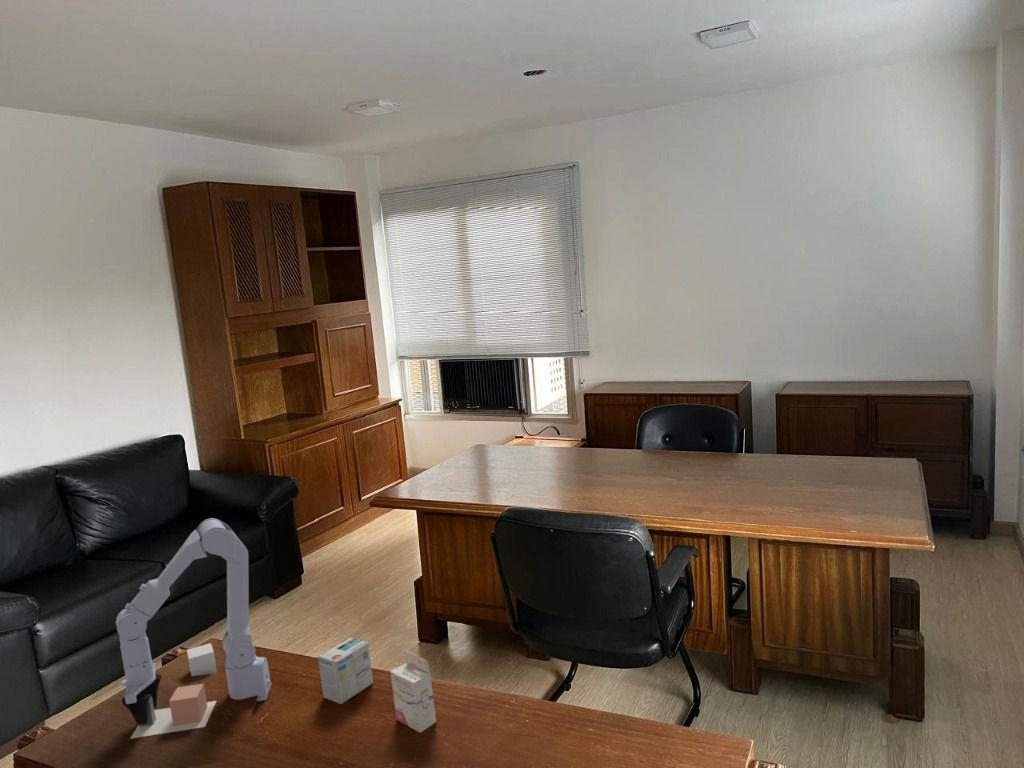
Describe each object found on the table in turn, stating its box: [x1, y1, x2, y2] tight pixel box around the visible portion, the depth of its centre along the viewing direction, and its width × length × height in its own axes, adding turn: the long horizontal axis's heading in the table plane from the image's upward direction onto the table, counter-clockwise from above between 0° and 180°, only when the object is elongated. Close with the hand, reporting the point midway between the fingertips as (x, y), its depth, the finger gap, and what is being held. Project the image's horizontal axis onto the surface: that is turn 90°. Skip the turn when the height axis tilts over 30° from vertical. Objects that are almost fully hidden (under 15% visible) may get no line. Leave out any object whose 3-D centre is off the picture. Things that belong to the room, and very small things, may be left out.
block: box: [168, 683, 208, 726], centre depth 178 cm, size 6×6×6 cm
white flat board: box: [129, 696, 217, 739], centre depth 178 cm, size 16×11×7 cm
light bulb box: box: [317, 637, 374, 705], centre depth 185 cm, size 11×7×11 cm, turn 144°
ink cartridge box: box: [390, 650, 437, 733], centre depth 169 cm, size 9×5×15 cm, turn 47°
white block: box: [186, 643, 218, 677], centre depth 202 cm, size 6×6×6 cm
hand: (147, 716), depth 178 cm, fingers open, 5 cm apart
